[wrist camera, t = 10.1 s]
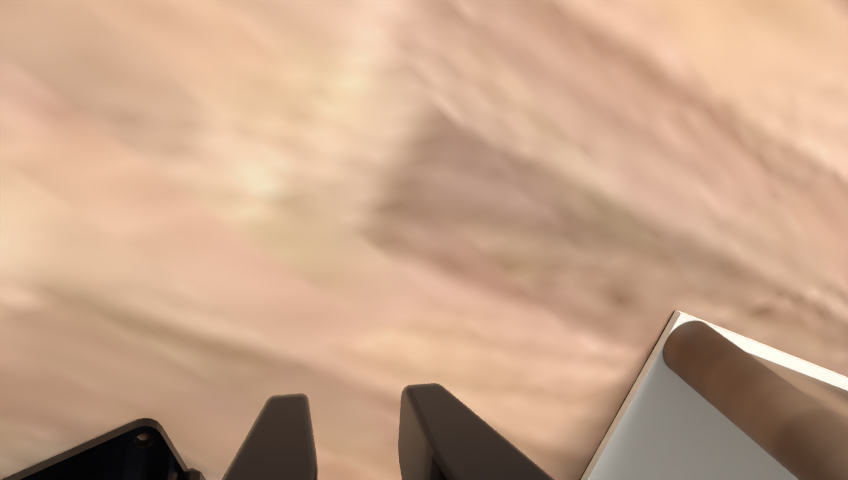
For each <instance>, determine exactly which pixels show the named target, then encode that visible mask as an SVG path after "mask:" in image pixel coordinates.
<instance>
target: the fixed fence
mask: <svg viewBox="0 0 848 480" xmlns="http://www.w3.org/2000/svg"><path fill="white" fill-rule="evenodd" d="M663 359H664V362H665V364H666V365H667V366H668V367H669V368H670V369H671V370H672V371H673V372H674V373H675V374H677V375H678V376H679V377H680V378H681V379H682V380H684V381H685V382H686V383H687V384H688V385H689V386H691V387H692V388H693V389H694V390H695V391H696V392H698V393H699V394H700V395H701V396H702V397H703V398H704V399H706V400H707V401H708V402H709V403H710V404H711V405H713V406H714V407H715V408H716V409H717V410H718V411H720V412H721V413H722V414H723V415H724V416H725V417H727V418H728V419H729V420H730V421H731V422H732V423H733V424H735V425H736V426H737V427H738V428H739V429H740V430H742V431H743V432H744V433H745V434H746V435H747V436H749V437H750V438H751V439H752V440H753V441H754V442H756V443H757V444H758V445H759V446H760V447H761V448H762V449H764V450H765V451H766V452H767V453H768V454H769V455H771V456H772V457H773V458H774V459H775V460H776V461H778V462H779V463H780V464H781V465H782V466H783V467H785V468H786V469H787V470H788V471H789V472H790V473H791V474H793V475H794V476H795V477H796V478H797V479H798V480H848V391H847V390H844V389H842V388H839V387H837V386H834V385H831V384H829V383H826V382H824V381H821V380H818V379H816V378H813V377H810V376H808V375H805V374H803V373H800V372H797V371H795V370H792V369H790V368H787V367H784V366H782V365H779V364H777V363H774V362H771V361H769V360H766V359H764V358H761V357H758V356H756V355H753V354H750V353H748V352H745V351H744V350H742V349H741V348H740V347H738V346H737V345H735V344H734V343H733V342H731V341H730V340H728V339H727V338H726V337H724V336H723V335H721V334H720V333H719V332H717V331H716V330H714V329H713V328H711V327H710V326H709V325H707V324H706V323H704V322H702V321H697V320H693V321H688V322H685V323H683V324H681V325H679V326H678V327H676V328H675V329H674V330H673V331H672V332H671V333H670V335H669V336H668V338H667V339H666V341H665V344H664V347H663Z"/></svg>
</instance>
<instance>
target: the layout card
mask: <svg viewBox="0 0 848 480" xmlns="http://www.w3.org/2000/svg"><path fill="white" fill-rule="evenodd" d="M693 320H697V321H702V322H704V323H706V324H707V325H709V326H710V327H711V328H713V329H714V330H716V331H717V332H719V333H720V334H721V335H723V336H724V337H726V338H727V339H728V340H730V341H731V342H733V343H734V344H735V345H737V346H738V347H740V348H741V349H742V350H744V351H745V352H748V353H750V354H753V355H756V356H758V357H761V358H764V359H766V360H769V361H771V362H774V363H777V364H779V365H782V366H784V367H787V368H790V369H792V370H795V371H797V372H800V373H803V374H805V375H808V376H810V377H813V378H816V379H818V380H821V381H824V382H826V383H829V384H831V385H834V386H837V387H839V388H842V389H844V390H847V391H848V377H846V376H843V375H841V374H838V373H836V372H833V371H831V370H828V369H826V368H823V367H821V366H818V365H815V364H813V363H810V362H808V361H805V360H803V359H800V358H798V357H795V356H793V355H790V354H787V353H785V352H782V351H780V350H777V349H775V348H772V347H770V346H767V345H765V344H762V343H760V342H757V341H754V340H752V339H749V338H747V337H744V336H742V335H739V334H737V333H734V332H732V331H729V330H726V329H724V328H721V327H719V326H716V325H714V324H711V323H709V322H706V321H704V320H701V319H699V318H696V317H693V316H691V315H688V314H686V313H683V312H681V311H678V310H675V312H674V314H673V316H672V317H671V319H670V321H669V323H668V325H667V326H666V328H665V330H664V332H663V334H662V335H661V337H660V339H659V341H658V342H657V344H656V346H655V348H654V350H653V351H652V353H651V355H650V357H649V359H648V360H647V362H646V364H645V366H644V367H643V369H642V371H641V373H640V375H639V376H638V378H637V380H636V382H635V384H634V385H633V387H632V389H631V391H630V392H629V394H628V396H627V398H626V400H625V401H624V403H623V405H622V407H621V408H620V410H619V412H618V414H617V416H616V417H615V419H614V421H613V423H612V425H611V426H610V428H609V430H608V432H607V433H606V435H605V437H604V439H603V441H602V442H601V444H600V446H599V448H598V450H597V451H596V453H595V455H594V457H593V458H592V460H591V462H590V464H589V466H588V467H587V469H586V471H585V473H584V474H583V476H582V478H581V480H798V479H797V478H796V477H795V476H794V475H793V474H791V473H790V472H789V471H788V470H787V469H786V468H785V467H783V466H782V465H781V464H780V463H779V462H778V461H776V460H775V459H774V458H773V457H772V456H771V455H769V454H768V453H767V452H766V451H765V450H764V449H762V448H761V447H760V446H759V445H758V444H757V443H756V442H754V441H753V440H752V439H751V438H750V437H749V436H747V435H746V434H745V433H744V432H743V431H742V430H740V429H739V428H738V427H737V426H736V425H735V424H733V423H732V422H731V421H730V420H729V419H728V418H727V417H725V416H724V415H723V414H722V413H721V412H720V411H718V410H717V409H716V408H715V407H714V406H713V405H711V404H710V403H709V402H708V401H707V400H706V399H704V398H703V397H702V396H701V395H700V394H699V393H698V392H696V391H695V390H694V389H693V388H692V387H691V386H689V385H688V384H687V383H686V382H685V381H684V380H682V379H681V378H680V377H679V376H678V375H677V374H675V373H674V372H673V371H672V370H671V369H670V368H669V367H668V366H667V365H666V364H665V362H664V359H663V347H664V344H665V341H666V339H667V338H668V336H669V335H670V333H671V332H672V331H673V330H674V329H675V328H676V327H678V326H679V325H681V324H683V323H685V322H688V321H693Z"/></svg>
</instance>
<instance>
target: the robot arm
mask: <svg viewBox="0 0 848 480" xmlns="http://www.w3.org/2000/svg"><path fill="white" fill-rule="evenodd" d="M143 433H147V434H150V435H151V436H152V438H151V439H150V440H146V441H143V440H140V439H139V438H137V436H138V435H139V434H143ZM398 451H399V462H400V469H401V475H402V480H554V479H553V478H552V477H551V476H550V475H548V474H547V473H546V472H545V471H544V470H542V469H541V468H540V467H539V466H538V465H536V464H535V463H534V462H533V461H532V460H530V459H529V458H528V457H527V456H526V455H524V454H523V453H522V452H521V451H520V450H518V449H517V448H516V447H515V446H514V445H512V444H511V443H510V442H509V441H508V440H506V439H505V438H504V437H503V436H502V435H500V434H499V433H498V432H497V431H496V430H494V429H493V428H492V427H491V426H490V425H488V424H487V423H486V422H485V421H484V420H482V419H481V418H480V417H479V416H478V415H476V414H475V413H474V412H473V411H472V410H470V409H469V408H468V407H467V406H466V405H464V404H463V403H462V402H461V401H459V400H458V399H457V398H456V397H455V396H453V395H452V394H451V393H450V392H449V391H447V390H446V389H445V388H444V387H443V386H441V385H439V384H436V383H431V384H418V385H408V386H406V387H405V388H404V389H403V391H402V395H401V409H400V424H399V440H398ZM3 480H206V479H205V478H204V476H203V474H202V473H201V472H200V471H198V470H195V469H193V468H190V469H188V468H187V467H186V465H185V463H184V462H183V460H182V458H181V457H180V455H179V454H178V452H177V450H176V449H175V447H174V445H173V444H172V442H171V440H170V439H169V437H168V435H167V434H166V432H165V430H164V429H163V427H162V426H161V425H160V424H159V423H158V422H157V421H155V420H153V419H148V418H143V419H139V420H136V421H134V422H132V423H129V424H127V425H125V426H123V427H120V428H118V429H116V430H114V431H111V432H109V433H107V434H105V435H102V436H100V437H98V438H96V439H93V440H91V441H89V442H87V443H84V444H82V445H80V446H78V447H75V448H73V449H71V450H68V451H66V452H64V453H62V454H59V455H57V456H55V457H53V458H50V459H48V460H46V461H44V462H41V463H39V464H37V465H35V466H32V467H30V468H28V469H26V470H23V471H21V472H19V473H17V474H14V475H12V476H10V477H8V478H5V479H3ZM222 480H318V469H317V456H316V449H315V442H314V435H313V428H312V421H311V414H310V408H309V401H308V398H307V396H306V395H305V394H302V393H299V394H286V395H274V396H271V397H270V398H269V399H268V400H267V402H266V403H265V405H264V407H263V409H262V410H261V412H260V414H259V416H258V417H257V419H256V421H255V423H254V424H253V426H252V428H251V430H250V431H249V433H248V435H247V437H246V438H245V440H244V442H243V444H242V445H241V447H240V449H239V451H238V452H237V454H236V456H235V458H234V459H233V461H232V463H231V465H230V466H229V468H228V470H227V472H226V473H225V475H224V477H223V479H222Z"/></svg>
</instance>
